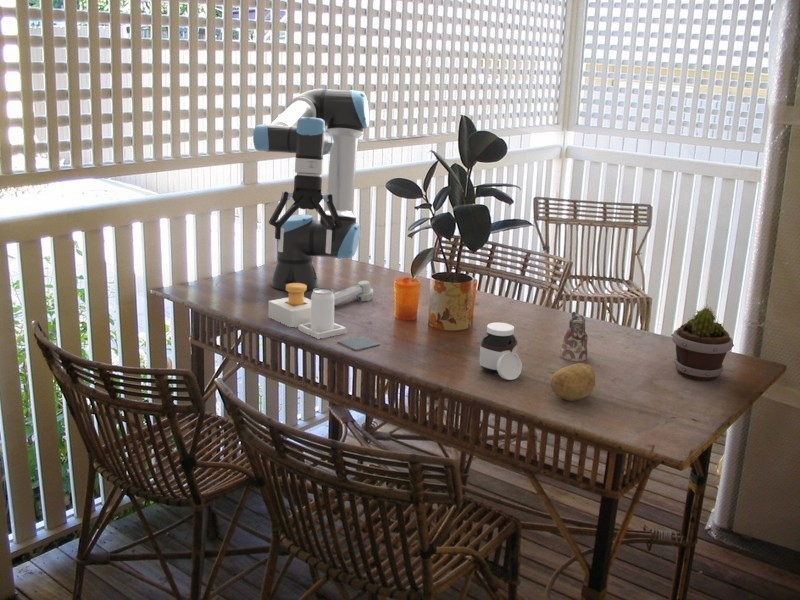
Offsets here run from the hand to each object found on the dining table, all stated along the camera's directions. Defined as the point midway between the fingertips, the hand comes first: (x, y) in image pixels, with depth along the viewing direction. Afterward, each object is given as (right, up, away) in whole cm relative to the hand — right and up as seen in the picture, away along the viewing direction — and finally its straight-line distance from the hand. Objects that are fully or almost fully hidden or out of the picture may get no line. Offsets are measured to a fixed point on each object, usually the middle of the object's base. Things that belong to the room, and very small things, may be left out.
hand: (304, 252), depth 243 cm
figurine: (+73, -29, -7) cm, 79 cm away
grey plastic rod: (+9, -15, +29) cm, 34 cm away
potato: (+67, -37, -34) cm, 84 cm away
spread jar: (+52, -32, -20) cm, 64 cm away
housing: (0, -20, +9) cm, 22 cm away
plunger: (-4, -16, +13) cm, 21 cm away
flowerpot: (+104, -32, -15) cm, 110 cm away
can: (+5, -22, +4) cm, 23 cm away
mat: (+15, -25, -5) cm, 30 cm away
